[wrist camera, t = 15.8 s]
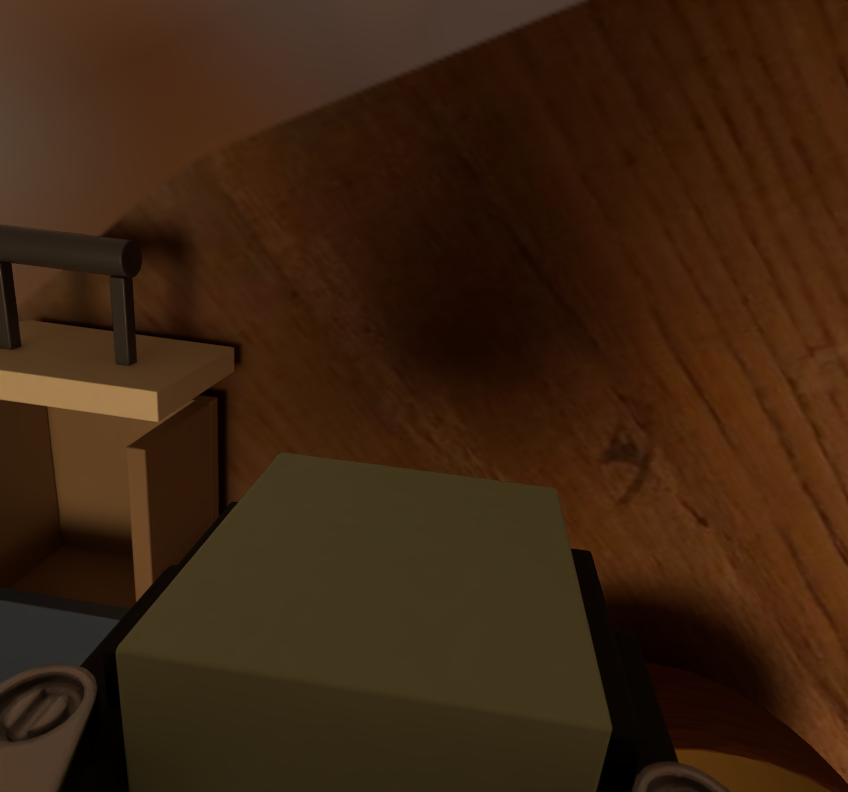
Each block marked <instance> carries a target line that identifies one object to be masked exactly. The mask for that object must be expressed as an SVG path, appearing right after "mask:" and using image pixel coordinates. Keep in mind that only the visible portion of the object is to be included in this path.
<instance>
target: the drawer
mask: <svg viewBox="0 0 848 792" xmlns="http://www.w3.org/2000/svg"><path fill="white" fill-rule="evenodd" d="M11 263H16V264H25V265H32V266H40V267H48V268H56V269H64V270H72V271H80V272H88V273H96V274H104V275H112V276H111V277H110V290H111V304H112V318H113V331H107V330H100V329H92V328H84V327H77V326H69V325H62V324H54V323H47V322H39V321H32V320H23V321H18V313H17V305H16V297H15V289H14V281H13V273H12V265H11ZM141 265H142V254H141V250H140V248H139V246H138V244H137V243H136V242H134V241H132V240H125V239H116V238H108V237H100V236H92V235H83V234H74V233H67V232H58V231H50V230H42V229H34V228H26V227H17V226H8V225H0V587H4V588H10V589H16V590H22V591H28V592H34V593H40V594H46V595H52V596H58V597H64V598H70V599H76V600H82V601H88V602H95V603H101V604H107V605H113V606H119V607H125V608H132V607H133V605H134V604H135V603H136V602H137V601H138V600H139V599H140V598H141V596H142V595H143V594H144V593H145V592H146V591H147V590H148V588H149V587H150V586H151V585H152V584H153V583H154V582H155V581H156V579H157V578H158V577H159V576H160V575H161V574H162V573H163V571H165V570H166V569H167V568H168V567H169V566H171V565H178V564H179V562H180V561H181V560H182V559H183V558H184V557H185V556H186V554H187V553H188V552H189V551H190V550H191V549H192V547H193V546H194V545H195V544H196V543H197V542H198V540H199V539H200V538H201V537H202V536H203V535H204V533H205V532H206V531H207V530H208V529H209V528H210V527H211V525H212V524H213V523H214V522H215V521H216V520H217V518H218V517H219V486H218V398H217V397H210V396H203V395H199V394H201V393H202V392H204V391H205V390H207V389H208V388H210V387H211V386H213V385H214V384H216V383H217V382H219V381H220V380H222V379H223V378H225V377H226V376H228V375H229V374H231V373H232V372H234V347H228V346H220V345H213V344H205V343H198V342H190V341H182V340H175V339H167V338H160V337H152V336H145V335H137V334H136V333H135V316H134V299H133V281H132V277H135V276H136V275H137V274H138V273H139V271H140V269H141Z"/></svg>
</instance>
